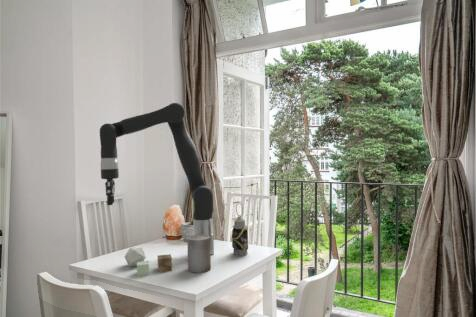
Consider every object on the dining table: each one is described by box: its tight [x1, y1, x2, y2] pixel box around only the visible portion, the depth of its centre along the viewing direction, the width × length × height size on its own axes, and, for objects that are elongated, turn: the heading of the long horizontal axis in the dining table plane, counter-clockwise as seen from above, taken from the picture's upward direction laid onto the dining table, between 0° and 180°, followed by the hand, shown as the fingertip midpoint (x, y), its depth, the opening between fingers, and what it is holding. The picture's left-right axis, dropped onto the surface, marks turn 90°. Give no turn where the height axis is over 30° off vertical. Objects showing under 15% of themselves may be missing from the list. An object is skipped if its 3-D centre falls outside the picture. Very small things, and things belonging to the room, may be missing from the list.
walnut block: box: [157, 254, 173, 273], centre depth 150 cm, size 6×6×6 cm
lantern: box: [231, 202, 249, 256], centre depth 171 cm, size 9×8×25 cm
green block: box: [136, 260, 150, 277], centre depth 144 cm, size 4×4×4 cm
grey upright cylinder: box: [186, 234, 212, 274], centre depth 149 cm, size 10×10×15 cm
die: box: [124, 246, 147, 268], centre depth 156 cm, size 8×9×10 cm
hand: (110, 203), depth 159 cm, fingers open, 8 cm apart
